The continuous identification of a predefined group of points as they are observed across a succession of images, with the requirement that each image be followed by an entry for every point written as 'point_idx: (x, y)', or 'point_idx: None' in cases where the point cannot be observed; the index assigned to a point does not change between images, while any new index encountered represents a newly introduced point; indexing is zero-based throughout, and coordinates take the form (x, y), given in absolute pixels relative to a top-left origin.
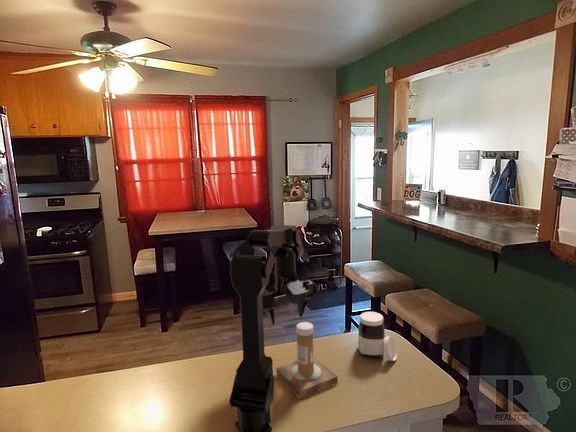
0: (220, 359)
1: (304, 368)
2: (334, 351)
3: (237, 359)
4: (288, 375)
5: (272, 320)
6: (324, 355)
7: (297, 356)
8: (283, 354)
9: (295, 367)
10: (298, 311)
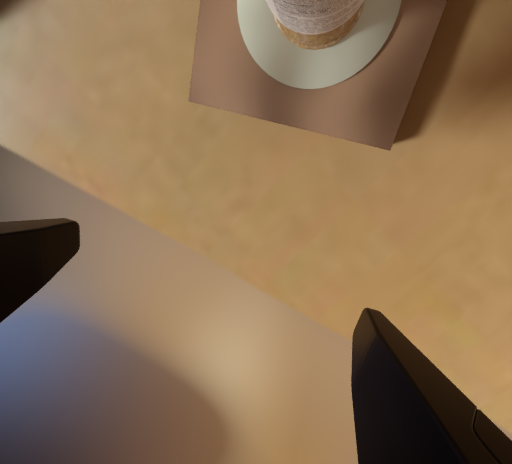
0: None
1: None
2: (79, 89)
3: None
4: (403, 50)
5: (411, 344)
6: (131, 99)
7: (360, 1)
8: (252, 233)
9: (327, 74)
10: (46, 276)
